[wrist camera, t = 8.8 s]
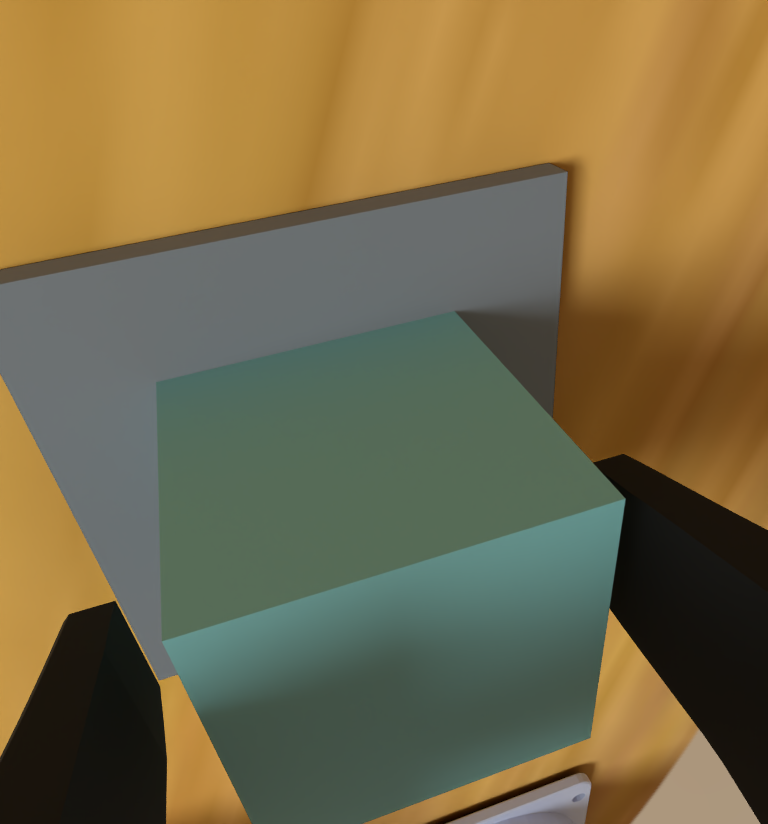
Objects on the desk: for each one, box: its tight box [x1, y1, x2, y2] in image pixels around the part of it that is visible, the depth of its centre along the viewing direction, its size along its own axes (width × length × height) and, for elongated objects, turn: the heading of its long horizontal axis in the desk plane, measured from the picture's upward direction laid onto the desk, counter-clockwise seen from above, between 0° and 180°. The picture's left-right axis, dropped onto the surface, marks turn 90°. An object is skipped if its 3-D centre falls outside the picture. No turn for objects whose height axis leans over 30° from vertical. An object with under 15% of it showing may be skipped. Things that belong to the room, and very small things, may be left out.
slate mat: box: [0, 163, 568, 680], centre depth 12 cm, size 9×9×1 cm
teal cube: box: [156, 311, 625, 824], centre depth 10 cm, size 5×5×5 cm
